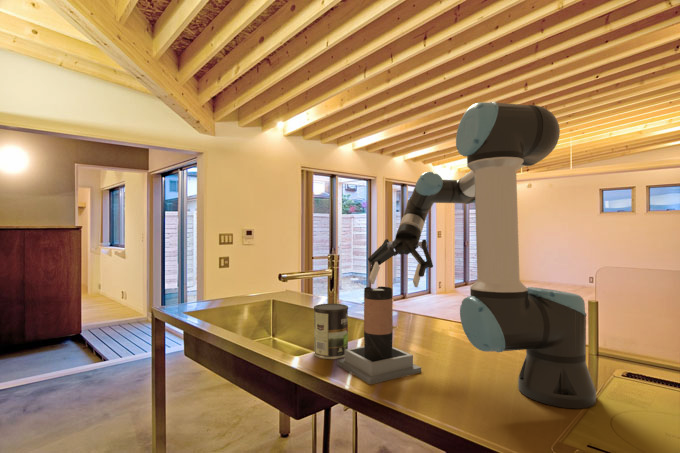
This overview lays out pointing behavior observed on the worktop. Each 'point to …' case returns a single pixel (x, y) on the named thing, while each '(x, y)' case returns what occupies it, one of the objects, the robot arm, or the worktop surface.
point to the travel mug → (378, 323)
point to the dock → (378, 365)
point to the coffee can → (330, 330)
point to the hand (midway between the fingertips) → (392, 282)
